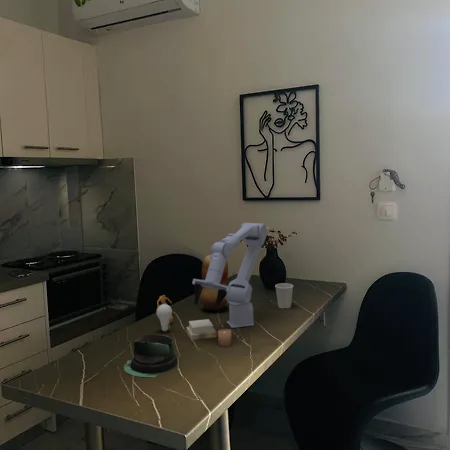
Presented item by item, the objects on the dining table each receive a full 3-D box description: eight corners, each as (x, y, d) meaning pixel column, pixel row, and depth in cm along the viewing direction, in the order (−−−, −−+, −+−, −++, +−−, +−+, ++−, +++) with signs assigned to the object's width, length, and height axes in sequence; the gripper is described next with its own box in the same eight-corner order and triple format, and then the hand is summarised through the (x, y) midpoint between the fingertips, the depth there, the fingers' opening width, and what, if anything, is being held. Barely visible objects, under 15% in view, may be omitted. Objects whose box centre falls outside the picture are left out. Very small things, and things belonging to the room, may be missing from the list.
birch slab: (210, 330, 190) (210, 324, 190) (217, 338, 181) (216, 332, 180) (186, 333, 188) (186, 327, 187) (191, 341, 178) (191, 335, 178)
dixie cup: (294, 309, 212) (294, 287, 211) (276, 309, 213) (275, 287, 211) (292, 303, 221) (292, 282, 219) (274, 304, 221) (274, 283, 220)
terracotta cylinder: (229, 341, 176) (229, 328, 176) (233, 345, 172) (232, 332, 171) (217, 342, 175) (216, 329, 174) (220, 347, 170) (219, 333, 170)
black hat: (189, 354, 165) (188, 328, 164) (175, 379, 146) (174, 350, 145) (135, 352, 168) (134, 327, 167) (114, 377, 149) (113, 348, 148)
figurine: (165, 327, 193) (163, 298, 192) (154, 324, 197) (152, 296, 195) (178, 321, 200) (177, 293, 199) (167, 318, 204) (166, 291, 202)
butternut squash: (220, 315, 206) (218, 259, 203) (194, 311, 213) (192, 257, 209) (235, 307, 218) (234, 253, 215) (210, 303, 225) (209, 251, 221)
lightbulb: (175, 329, 190) (174, 302, 189) (168, 334, 184) (167, 307, 183) (161, 328, 192) (160, 301, 191) (154, 333, 186) (153, 306, 185)
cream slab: (208, 325, 189) (208, 319, 188) (213, 331, 181) (213, 325, 181) (189, 327, 187) (188, 321, 186) (192, 334, 179) (192, 327, 179)
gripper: (194, 265, 177) (184, 300, 172) (231, 273, 173) (222, 309, 169) (199, 270, 183) (189, 304, 179) (234, 278, 180) (225, 313, 175)
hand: (205, 307), depth 174 cm, fingers open, 7 cm apart
